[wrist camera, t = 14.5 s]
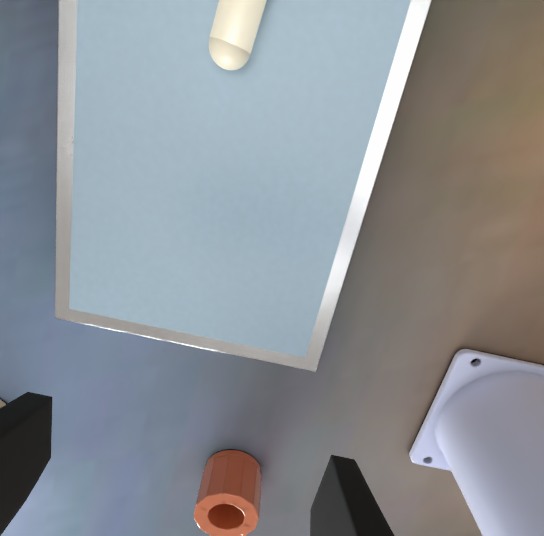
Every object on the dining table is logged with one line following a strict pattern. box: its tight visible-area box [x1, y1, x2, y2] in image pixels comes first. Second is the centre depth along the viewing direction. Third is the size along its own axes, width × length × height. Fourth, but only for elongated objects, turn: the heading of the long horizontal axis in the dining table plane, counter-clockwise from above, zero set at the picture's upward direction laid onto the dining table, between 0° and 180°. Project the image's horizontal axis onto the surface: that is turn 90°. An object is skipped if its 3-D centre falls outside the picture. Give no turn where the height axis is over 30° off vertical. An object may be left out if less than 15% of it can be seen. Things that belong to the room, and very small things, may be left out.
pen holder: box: [193, 450, 262, 536], centre depth 22 cm, size 4×4×3 cm
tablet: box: [55, 0, 432, 371], centre depth 16 cm, size 14×22×1 cm, turn 168°
